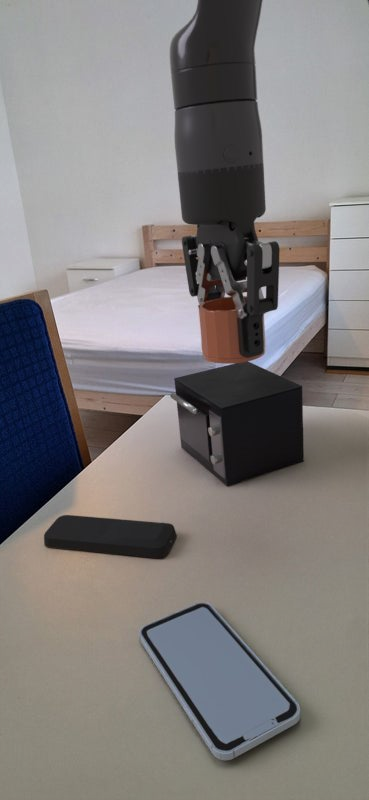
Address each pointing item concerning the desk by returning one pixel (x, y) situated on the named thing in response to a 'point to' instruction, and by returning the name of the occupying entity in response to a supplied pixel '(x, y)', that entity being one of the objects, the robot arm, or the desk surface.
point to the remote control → (111, 536)
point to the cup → (221, 331)
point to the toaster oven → (240, 420)
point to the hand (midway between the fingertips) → (233, 347)
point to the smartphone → (218, 680)
